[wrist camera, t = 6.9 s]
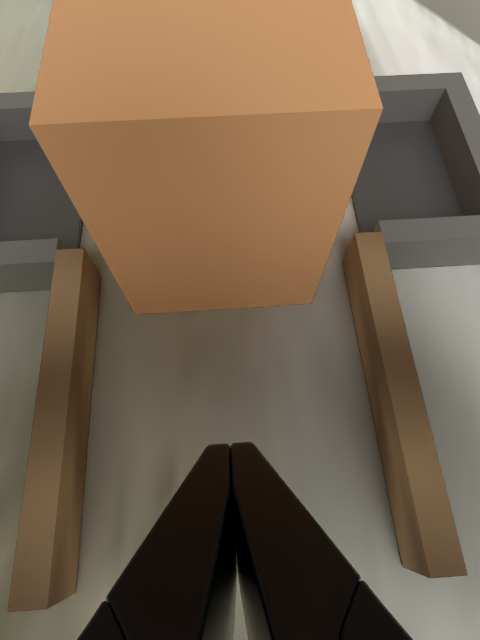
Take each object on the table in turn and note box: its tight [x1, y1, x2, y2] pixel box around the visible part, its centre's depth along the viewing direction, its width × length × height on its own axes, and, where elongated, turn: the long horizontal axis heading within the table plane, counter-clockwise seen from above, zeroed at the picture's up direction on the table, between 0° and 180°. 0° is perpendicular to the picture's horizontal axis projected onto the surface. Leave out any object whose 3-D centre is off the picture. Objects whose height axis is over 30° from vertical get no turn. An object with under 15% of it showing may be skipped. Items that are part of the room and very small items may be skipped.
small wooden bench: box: [8, 232, 467, 612], centre depth 16 cm, size 27×12×4 cm, turn 4°
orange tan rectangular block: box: [29, 0, 383, 314], centre depth 15 cm, size 15×7×9 cm, turn 4°
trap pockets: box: [0, 73, 480, 292], centre depth 18 cm, size 9×23×2 cm, turn 94°
